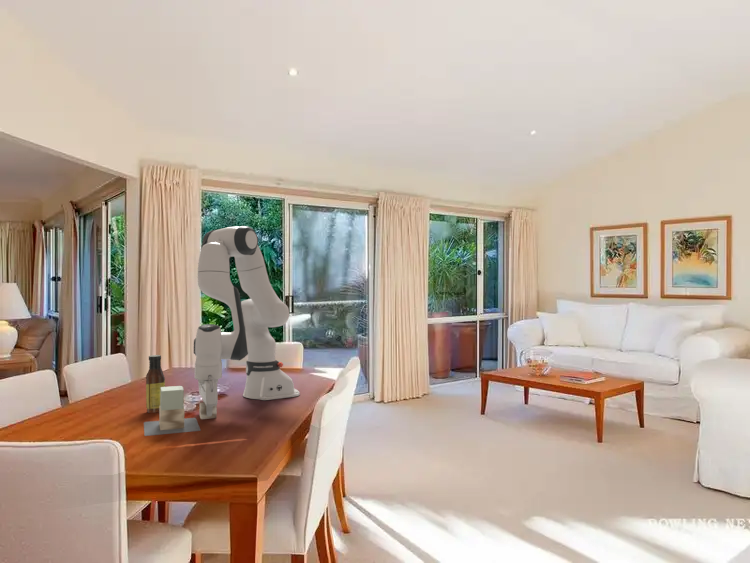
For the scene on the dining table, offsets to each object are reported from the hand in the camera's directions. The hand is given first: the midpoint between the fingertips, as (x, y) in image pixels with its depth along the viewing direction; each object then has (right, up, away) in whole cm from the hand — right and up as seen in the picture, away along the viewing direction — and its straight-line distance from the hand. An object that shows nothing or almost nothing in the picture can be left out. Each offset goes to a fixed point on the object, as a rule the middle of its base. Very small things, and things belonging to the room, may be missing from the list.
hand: (207, 413), depth 183 cm
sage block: (-8, +5, -12) cm, 15 cm away
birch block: (-8, -1, -12) cm, 14 cm away
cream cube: (0, -2, 0) cm, 2 cm away
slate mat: (-8, -2, -12) cm, 15 cm away
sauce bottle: (-21, -1, +7) cm, 22 cm away
